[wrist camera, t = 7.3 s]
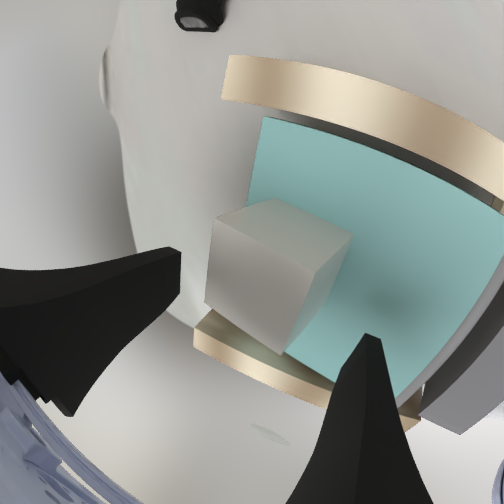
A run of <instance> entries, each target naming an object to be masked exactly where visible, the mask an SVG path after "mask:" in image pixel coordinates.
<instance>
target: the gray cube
mask: <svg viewBox="0 0 504 504" xmlns="http://www.w3.org/2000/svg"><path fill="white" fill-rule="evenodd" d="M353 236H354V234H352V233H350V232H348V231H346V230H344V229H342V228H340V227H338V226H336V225H334V224H332V223H330V222H328V221H325V220H323V219H321V218H319V217H317V216H315V215H312V214H310V213H308V212H306V211H304V210H302V209H299V208H297V207H295V206H293V205H290V204H288V203H286V202H284V201H281V200H279V199H277V198H272V199H269V200H266V201H263V202H260V203H257V204H254V205H251V206H248V207H245V208H242V209H239V210H236V211H233V212H230V213H227V214H224V215H221V216H218V217H216V218H214V222H213V229H212V237H211V245H210V253H209V262H208V271H207V280H206V289H205V299H204V303H206V304H207V305H209V306H210V307H211V308H213V309H214V310H215V311H217V312H218V313H219V314H221V315H222V316H224V317H225V318H226V319H228V320H229V321H230V322H232V323H233V324H235V325H236V326H237V327H239V328H240V329H242V330H243V331H245V332H246V333H247V334H249V335H250V336H252V337H253V338H255V339H256V340H258V341H259V342H261V343H262V344H264V345H265V346H267V347H268V348H270V349H271V350H273V351H274V352H276V353H277V354H279V355H280V356H281V355H282V354H283V353H284V352H285V351H286V349H287V348H288V347H289V346H290V345H291V344H292V343H293V342H294V340H295V339H296V338H297V337H298V336H299V335H300V334H301V332H302V331H303V330H304V329H305V328H306V327H307V325H308V324H309V323H310V322H311V321H312V319H313V318H314V317H315V316H316V315H317V313H318V312H319V311H320V310H321V309H322V307H323V306H324V304H325V302H326V300H327V297H328V295H329V293H330V291H331V289H332V286H333V284H334V282H335V279H336V277H337V275H338V273H339V270H340V268H341V265H342V263H343V261H344V258H345V256H346V253H347V251H348V248H349V246H350V243H351V241H352V238H353Z"/></svg>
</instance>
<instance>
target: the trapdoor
mask: <svg viewBox="0 0 504 504" xmlns="http://www.w3.org/2000/svg"><path fill="white" fill-rule="evenodd" d="M272 198H277V199H279V200H281V201H284V202H286V203H288V204H290V205H293V206H295V207H297V208H299V209H302V210H304V211H306V212H308V213H310V214H312V215H315V216H317V217H319V218H321V219H323V220H325V221H328V222H330V223H332V224H334V225H336V226H338V227H340V228H342V229H344V230H346V231H348V232H350V233H352V234H354V236H353V238H352V241H351V243H350V246H349V248H348V251H347V253H346V256H345V258H344V261H343V263H342V265H341V268H340V270H339V273H338V275H337V277H336V279H335V282H334V284H333V286H332V289H331V291H330V293H329V295H328V297H327V300H326V302H325V304H324V306H323V307H322V309H321V310H320V311H319V312H318V313H317V315H316V316H315V317H314V318H313V319H312V321H311V322H310V323H309V324H308V325H307V327H306V328H305V329H304V330H303V331H302V332H301V334H300V335H299V336H298V337H297V338H296V339H295V340H294V342H293V343H292V344H291V345H290V346H289V347H288V348H287V349H286V351H285V352H286V353H287V354H289V355H290V356H292V357H294V358H295V359H297V360H298V361H300V362H302V363H303V364H305V365H306V366H308V367H310V368H311V369H313V370H315V371H316V372H318V373H320V374H321V375H323V376H325V377H326V378H328V379H330V380H331V381H333V382H336V380H337V377H338V374H339V372H340V369H341V367H342V366H343V364H344V363H345V362H346V360H347V359H348V357H349V356H350V355H351V353H352V352H353V350H354V349H355V347H356V346H357V344H358V343H359V341H360V340H361V338H362V337H363V335H364V334H365V333H367V334H370V335H372V336H375V337H377V338H380V339H381V341H382V345H383V350H384V354H385V358H386V363H387V367H388V372H389V376H390V380H391V385H392V389H393V393H394V397H395V401H396V405H397V408H399V407H400V406H401V405H402V404H403V403H404V402H405V401H407V400H408V399H409V398H410V397H411V396H412V395H413V394H414V393H415V392H416V391H417V390H418V389H419V388H420V387H421V386H422V385H423V384H424V383H425V382H426V383H425V387H424V392H423V396H422V400H421V404H420V408H419V412H418V415H419V416H421V417H423V418H425V419H427V420H429V421H431V422H433V423H435V424H437V425H439V426H441V427H443V428H446V429H448V430H450V431H452V432H454V433H457V434H459V435H461V434H462V433H464V432H465V431H466V430H468V429H469V428H470V427H472V426H473V425H475V424H476V423H477V422H478V421H480V420H481V419H482V418H484V417H485V416H486V415H487V414H488V413H490V412H491V411H492V410H493V409H494V408H496V407H497V406H498V405H499V404H500V403H501V402H502V401H503V400H504V215H503V214H501V213H500V212H498V211H497V210H495V209H494V208H492V207H491V206H489V205H488V204H486V203H484V202H483V201H481V200H479V199H478V198H476V197H474V196H473V195H471V194H469V193H468V192H466V191H464V190H462V189H460V188H459V187H457V186H455V185H453V184H451V183H449V182H448V181H446V180H444V179H442V178H440V177H438V176H436V175H434V174H432V173H430V172H428V171H426V170H423V169H421V168H419V167H417V166H415V165H413V164H410V163H408V162H406V161H404V160H401V159H399V158H397V157H394V156H392V155H389V154H387V153H385V152H382V151H380V150H377V149H374V148H372V147H369V146H366V145H364V144H361V143H358V142H355V141H352V140H350V139H347V138H344V137H341V136H338V135H335V134H331V133H328V132H325V131H322V130H318V129H315V128H311V127H308V126H304V125H301V124H297V123H293V122H289V121H285V120H281V119H277V118H272V117H265V116H263V121H262V126H261V131H260V136H259V141H258V146H257V151H256V156H255V161H254V166H253V172H252V177H251V182H250V187H249V192H248V197H247V203H246V207H248V206H251V205H254V204H257V203H260V202H263V201H266V200H269V199H272Z"/></svg>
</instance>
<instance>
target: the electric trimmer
mask: <svg viewBox="0 0 504 504" xmlns="http://www.w3.org/2000/svg"><path fill="white" fill-rule="evenodd" d="M220 2H221V0H177V2H176V7H177V12H176V13H175V20H176V23H177V24H178V25H179V27H180V28H181V29H183V30H185V31H200V32H215V31H216V28H217V26H218V25H221V24H222V16H221V12H220V10H219V5H220Z"/></svg>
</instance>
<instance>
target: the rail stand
mask: <svg viewBox="0 0 504 504" xmlns="http://www.w3.org/2000/svg"><path fill="white" fill-rule="evenodd" d="M221 99H223V100H230V101H237V102H243V103H249V104H255V105H261V106H266V107H271V108H276V109H281V110H285V111H290V112H294V113H298V114H302V115H306V116H310V117H314V118H318V119H321V120H325V121H328V122H332V123H335V124H338V125H342V126H345V127H348V128H351V129H354V130H357V131H360V132H363V133H366V134H369V135H372V136H374V137H377V138H380V139H382V140H385V141H388V142H390V143H393V144H395V145H398V146H400V147H403V148H405V149H407V150H410V151H412V152H414V153H417V154H419V155H421V156H423V157H425V158H428V159H430V160H432V161H434V162H436V163H438V164H440V165H442V166H444V167H446V168H448V169H450V170H452V171H454V172H456V173H458V174H459V175H461V176H463V177H465V178H467V179H468V180H470V181H472V182H474V183H475V184H477V185H479V186H481V187H482V188H484V189H486V190H487V191H489V192H490V193H492V194H494V195H495V198H494V201H493V204H492V206H491V207H492V208H494V209H495V210H497V211H498V212H500V213H501V214H503V215H504V143H503V142H502V141H500V140H499V139H497V138H496V137H494V136H493V135H491V134H489V133H488V132H486V131H485V130H483V129H481V128H480V127H478V126H476V125H475V124H473V123H471V122H469V121H468V120H466V119H464V118H462V117H460V116H458V115H456V114H454V113H453V112H451V111H449V110H447V109H445V108H442V107H440V106H438V105H436V104H434V103H432V102H430V101H427V100H425V99H423V98H420V97H418V96H416V95H413V94H411V93H408V92H406V91H403V90H400V89H398V88H395V87H392V86H389V85H387V84H384V83H381V82H378V81H374V80H371V79H368V78H365V77H361V76H358V75H354V74H351V73H347V72H343V71H339V70H335V69H330V68H326V67H321V66H317V65H311V64H306V63H300V62H294V61H288V60H281V59H273V58H264V57H254V56H241V55H229V59H228V64H227V69H226V74H225V79H224V85H223V90H222V95H221ZM194 347H195V348H197V349H199V350H200V351H202V352H204V353H206V354H208V355H210V356H211V357H213V358H215V359H217V360H219V361H220V362H222V363H224V364H226V365H228V366H230V367H232V368H234V369H236V370H238V371H240V372H242V373H244V374H246V375H248V376H250V377H252V378H254V379H256V380H258V381H260V382H263V383H265V384H267V385H269V386H271V387H273V388H276V389H278V390H280V391H282V392H285V393H287V394H289V395H292V396H294V397H296V398H299V399H301V400H304V401H306V402H309V403H311V404H314V405H316V406H319V407H322V408H324V409H327V408H328V404H329V400H330V397H331V393H332V390H333V388H334V385H335V382H333V381H331V380H330V379H328V378H326V377H325V376H323V375H321V374H320V373H318V372H316V371H315V370H313V369H311V368H310V367H308V366H306V365H305V364H303V363H302V362H300V361H298V360H297V359H295V358H294V357H292V356H290V355H289V354H287V353H286V352H284V353H283V354H282V355H281V356H280V355H279V354H277V353H276V352H274V351H273V350H271V349H270V348H268V347H267V346H265V345H264V344H262V343H261V342H259V341H258V340H256V339H255V338H253V337H252V336H250V335H249V334H247V333H246V332H245V331H243V330H242V329H240V328H239V327H237V326H236V325H235V324H233V323H232V322H230V321H229V320H228V319H226V318H225V317H224V316H222V315H221V314H219V313H218V312H217V311H215V310H214V309H212V310H211V311H210V312H209V313H208V314H207V315H206V316H205V317H204V318H203V319H202V320H201V321H200V322H199V323H198V324H197V325H196V326H195V327H194ZM421 400H422V386H421V387H420V388H419V389H418V390H417V391H416V392H415V393H414V394H413V395H412V396H411V397H410V398H409V399H408V400H407V401H405V402H404V403H403V404H402V405H401V406H400V407H399V408H397V409H398V412H399V416H400V420H401V423H402V427H403V430H404V433H405V432H406V431H408V430H409V429H410V428H411V427H413V426H414V425H416V424H417V423H418V422H420V421H421V416H419V415H418V412H419V408H420V404H421Z"/></svg>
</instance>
